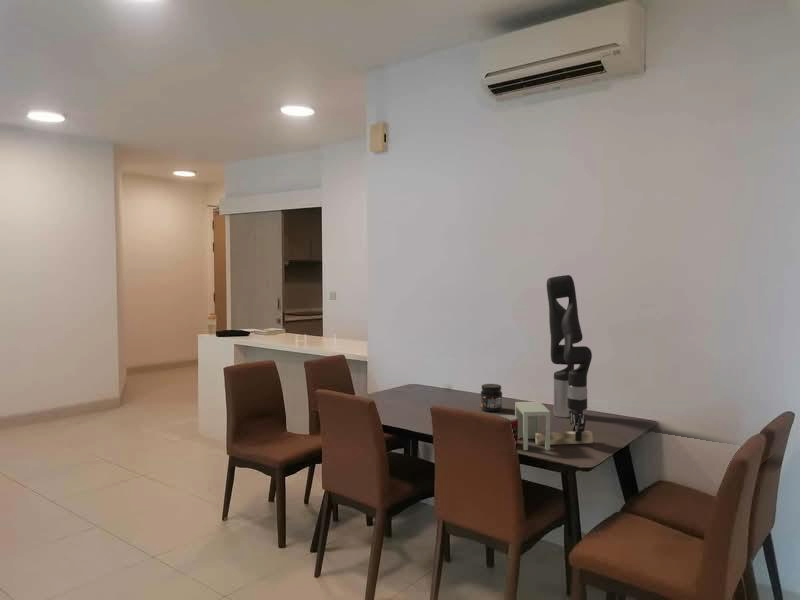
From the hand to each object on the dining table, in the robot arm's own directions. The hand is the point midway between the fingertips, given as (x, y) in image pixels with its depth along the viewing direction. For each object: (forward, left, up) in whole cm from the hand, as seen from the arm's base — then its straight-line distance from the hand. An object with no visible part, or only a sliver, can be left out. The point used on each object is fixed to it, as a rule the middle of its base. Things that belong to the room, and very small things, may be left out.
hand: (577, 439), depth 230 cm
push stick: (0, -5, -1) cm, 5 cm away
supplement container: (-54, -25, -2) cm, 59 cm away
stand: (0, -18, -2) cm, 18 cm away
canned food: (0, -28, -2) cm, 28 cm away
